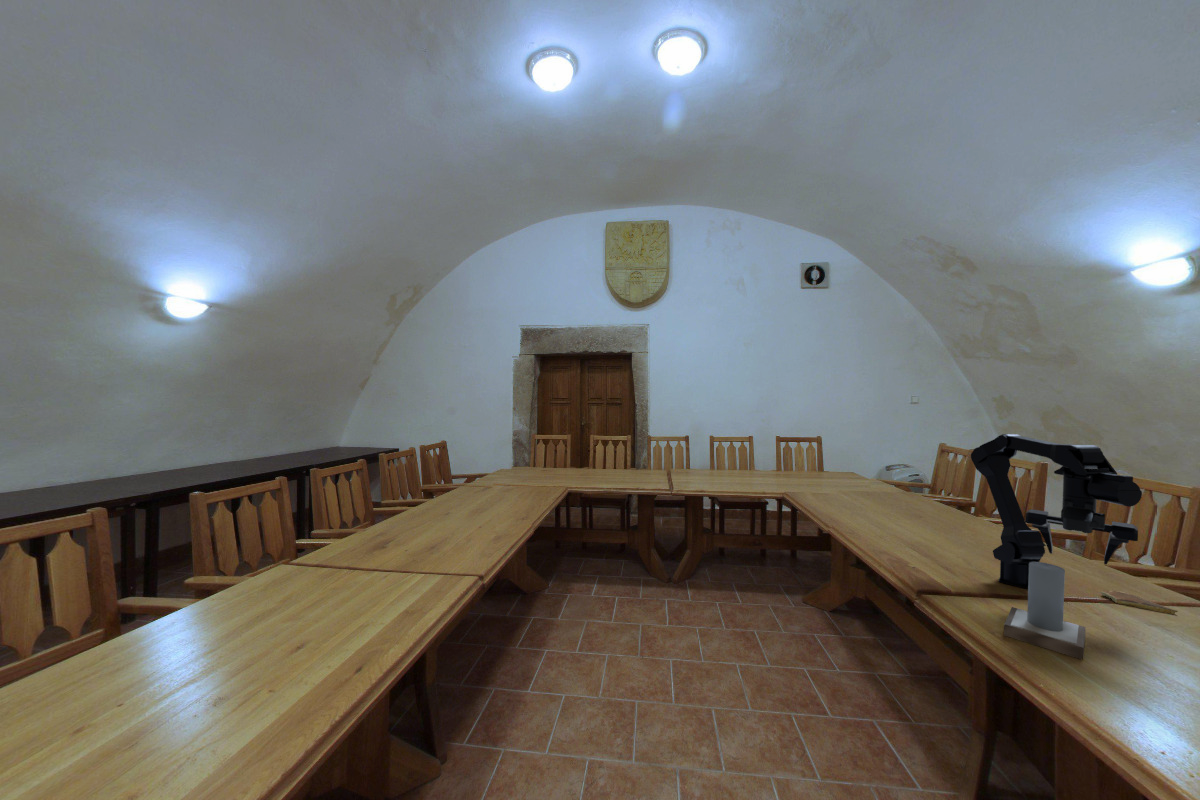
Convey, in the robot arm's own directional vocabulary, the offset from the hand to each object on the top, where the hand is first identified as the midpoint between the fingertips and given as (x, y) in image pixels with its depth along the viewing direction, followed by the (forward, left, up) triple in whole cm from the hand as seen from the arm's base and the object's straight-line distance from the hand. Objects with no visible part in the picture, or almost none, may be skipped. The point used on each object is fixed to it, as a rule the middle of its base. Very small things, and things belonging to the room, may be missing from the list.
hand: (1077, 558), depth 111 cm
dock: (-4, -23, -13) cm, 26 cm away
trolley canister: (-4, -22, -10) cm, 25 cm away
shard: (+10, +18, -14) cm, 25 cm away
